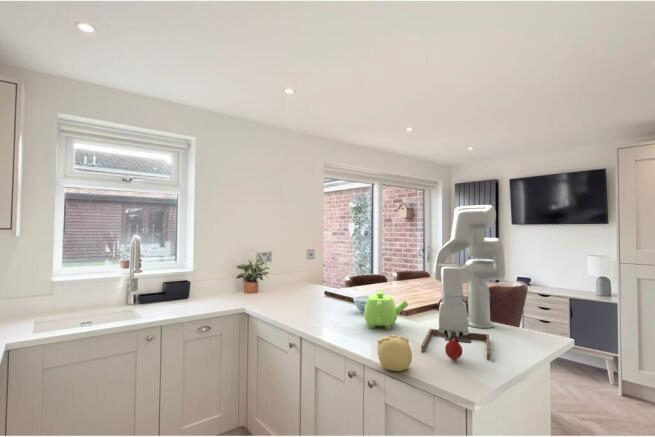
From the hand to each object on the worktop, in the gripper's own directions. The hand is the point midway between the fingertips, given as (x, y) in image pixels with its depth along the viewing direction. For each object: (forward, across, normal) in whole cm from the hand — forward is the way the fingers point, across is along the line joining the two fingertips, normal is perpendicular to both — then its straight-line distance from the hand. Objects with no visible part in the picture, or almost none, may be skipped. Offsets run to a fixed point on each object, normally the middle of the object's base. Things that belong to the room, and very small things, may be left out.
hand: (454, 349), depth 129 cm
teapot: (+3, +34, -32) cm, 47 cm away
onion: (+3, 0, +4) cm, 5 cm away
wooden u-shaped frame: (+3, 0, -12) cm, 12 cm away
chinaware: (+3, +51, -53) cm, 74 cm away
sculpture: (+3, +18, +18) cm, 25 cm away
